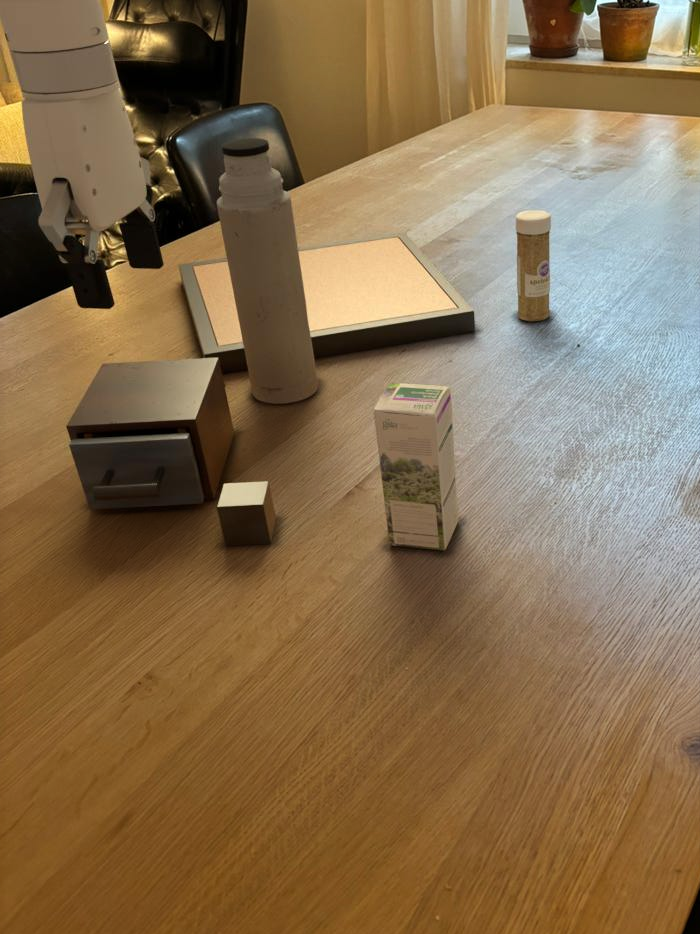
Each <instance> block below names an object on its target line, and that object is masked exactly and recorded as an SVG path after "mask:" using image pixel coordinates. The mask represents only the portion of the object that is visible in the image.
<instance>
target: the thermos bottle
mask: <svg viewBox="0 0 700 934" xmlns="http://www.w3.org/2000/svg"><path fill="white" fill-rule="evenodd" d="M269 150H270V144H269V141H268V140H267V139H265V138H258V137H244V138H237V139H232V140H229V141H226V142H224V143H222V144H221V151H222V154H223V157H224V158H223V164H224V170H225V172H223V174H222V175H220V176H219V178H218V182H219V187H218V190H219V192H220V194H221V196H220V197H218V198H217V200H216V208H217V214H218V219H219V225H220V229H221V234H222V238H223V246H224V250H225V255H226V258H227V261H228V266H229V272H230V277H231V282H232V287H233V293H234V298H235V303H236V308H237V314H238V319H239V324H240V330H241V335H242V340H243V345H244V351H245V356H246V361H247V366H248V370H247V372H248V377H249V382H250V387H251V391H252V395H253V397H254V398H255V399H256V400H257V401H260V402H263V403H266V404H271V405H273V404H274V405H275V404H276V405H282V404H283V405H285V404H291V403H296V402H299V401H300V402H301V401H302V400H305V399H308V398H309V397H311V396H313V395H314V394H315V393H316V392H317V390H318V387H319V382H318V376H317V368H316V362H315V361H316V360H315V358H314V354H313V348H312V341H311V335H310V329H309V323H308V316H307V308H306V300H305V293H304V286H303V279H302V272H301V265H300V259H299V252H298V248H299V246H298V237H297V232H296V225H295V224H296V223H295V218H294V212H293V211H294V210H293V206H292V205H293V203H292V198H291V194H290V193H289V192H288V191H286V190H284V188H283V183H284V179H283V178H282V175H281V173H280V172H279V170H278V169H275V168H273V167H272V163H271V157H270V154H269V152H268V151H269Z"/></svg>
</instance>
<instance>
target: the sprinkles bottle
mask: <svg viewBox="0 0 700 934" xmlns="http://www.w3.org/2000/svg"><path fill="white" fill-rule="evenodd" d="M551 230H552V217H551V213H549V212H548V211H545V210H536V209H535V210H534V209H533V210H532V209H531V210H524V211H521V212H519V213H517V214H516V215H515V234H516V251H517V252H516V291H517V317H518V318H519V319H520V320H522V321H526V322H539V321H540V322H541V321H544V320H546V319H548V318H549V317H550V315H551V310H550V292H551V269H550V252H551V251H550V233H551Z"/></svg>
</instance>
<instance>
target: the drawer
mask: <svg viewBox="0 0 700 934" xmlns="http://www.w3.org/2000/svg"><path fill="white" fill-rule="evenodd" d="M84 437H85V439H72V440H70V442H69V444H68V447H69V450H70V453H71V455H72V459H73V462H74V466H75V468H76V471H77V474H78V478H79V480H80V483H81V487H82V490H83V493H84V496H85V500H86V502H87V506H88V508H89V510H90V511H91V510H108V509H109V510H111V509H127V508H128V509H129V508H144V507H161V506H162V507H163V506H179V505H181V506H182V505H194V504H195V505H197V504H198V505H201V504H204V502H205V500H204V498H205V497H204V492H203V488H202V484H201V482H202V479H201V475H200V471H199V466H198V462H197V458H196V454H195V450H194V445H193V441H192V437H191V433H190V429H189V427H176V428H158V429H139V430H121V431H103V432H85V433H84Z"/></svg>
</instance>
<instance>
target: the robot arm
mask: <svg viewBox="0 0 700 934" xmlns="http://www.w3.org/2000/svg"><path fill="white" fill-rule="evenodd" d="M0 23H1V26H2V30H3V34H4V37H5V40H6V44H7V47H8V51H9V54H10V58H11V61H12V65H13V68H14V72H15V76H16V78H17V82H18V86H19V89H20V92H21V96H22V98H23V100H22V101H21V113H22V121H23V129H24V136H25V141H26V148H27V152H28V156H29V161H30V166H31V170H32V175H33V179H34V183H35V187H36V191H37V195H38V198H39V202H40V206H41V212H40V214H39V216H38V219H37V220H38V226H39V228H40V230H41V231H42V233H43V234H44V235H45V237H46V239H47V240H48V241H49V245H50V248H51V250H52V251H54V252H55V253H56V254H57V255H58V258H59V261H60V262H61V263H62V264H65V265H66V270H67V274H68V276H69V280H70V283H71V286H72V290H73V293H74V296H75V300H76V303H77V306H78V307H79V308H81V309H94V310H95V309H98V310H110V309H112V308H113V307H115V305H116V304H115V299H114V295H113V292H112V287H111V285H110V284H111V283H110V280H109V277H108V273H107V269H106V266H105V262H104V260H103V259H98V251H99V243H100V242H99V241H100V232H103V231H105V230H107V229H109V228H110V227H111V226H113V225H115V224H117V223H118V222H119V221H120V222H119V223H118V225H119V229H120V233H121V237H122V241H123V245H124V250H125V253H126V257H127V261H128V264H129V266H130V267H131V269H140V270H141V269H142V270H143V269H144V270H160V269H161V268H163V267H164V258H163V255H162V249H161V247H160V242H159V238H158V233H157V230H156V224H155V222H154V221H155V219H156V212H155V209H154V208H153V206H152V203H153V195H154V193H153V191H154V190H153V188H152V186H151V164H150V161H149V160H147V159H146V158H144V157H143V156H141V155H140V152H139V147H138V144H137V141H136V138H135V134H134V130H133V126H132V123H131V120H130V118H129V115H128V112H127V108H126V105H125V103H124V99H123V97H122V94H121V91H120V88H121V83H120V79H119V75H118V71H117V67H116V63H115V58H114V55H113V49H112V46H111V41H110V37H109V33H108V28H107V23H106V20H105V15H104V10H103V7H102V1H101V0H0ZM121 220H122V221H121ZM76 235H84V241H83V242H84V243H82V242H81V241H80V240H79V239H77V238H76Z"/></svg>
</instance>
